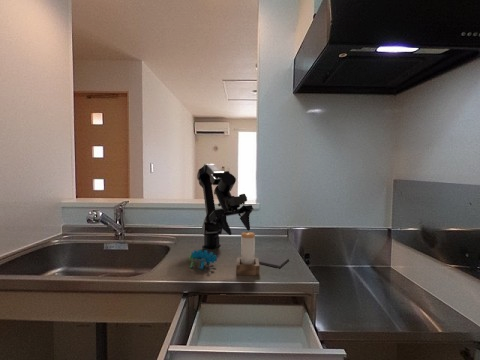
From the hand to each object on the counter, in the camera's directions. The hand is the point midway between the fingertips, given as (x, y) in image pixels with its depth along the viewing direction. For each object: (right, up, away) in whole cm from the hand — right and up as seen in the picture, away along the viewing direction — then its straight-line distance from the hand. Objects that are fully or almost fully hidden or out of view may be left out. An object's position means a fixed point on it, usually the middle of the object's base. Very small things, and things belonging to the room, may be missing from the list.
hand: (240, 232), depth 107 cm
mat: (+13, -13, +6) cm, 20 cm away
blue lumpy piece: (-14, -13, 0) cm, 20 cm away
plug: (+3, -14, -4) cm, 14 cm away
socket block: (+3, -14, -4) cm, 14 cm away
